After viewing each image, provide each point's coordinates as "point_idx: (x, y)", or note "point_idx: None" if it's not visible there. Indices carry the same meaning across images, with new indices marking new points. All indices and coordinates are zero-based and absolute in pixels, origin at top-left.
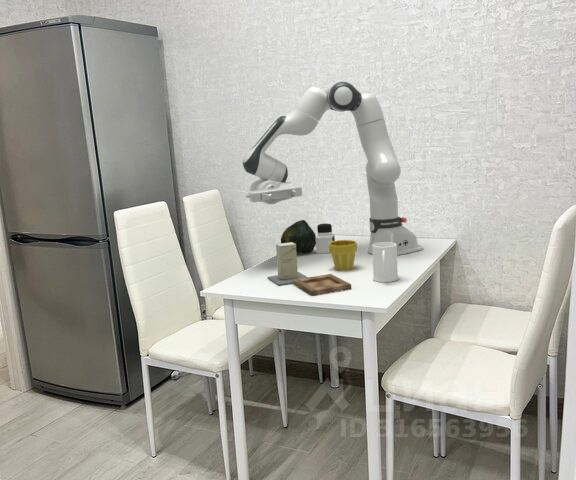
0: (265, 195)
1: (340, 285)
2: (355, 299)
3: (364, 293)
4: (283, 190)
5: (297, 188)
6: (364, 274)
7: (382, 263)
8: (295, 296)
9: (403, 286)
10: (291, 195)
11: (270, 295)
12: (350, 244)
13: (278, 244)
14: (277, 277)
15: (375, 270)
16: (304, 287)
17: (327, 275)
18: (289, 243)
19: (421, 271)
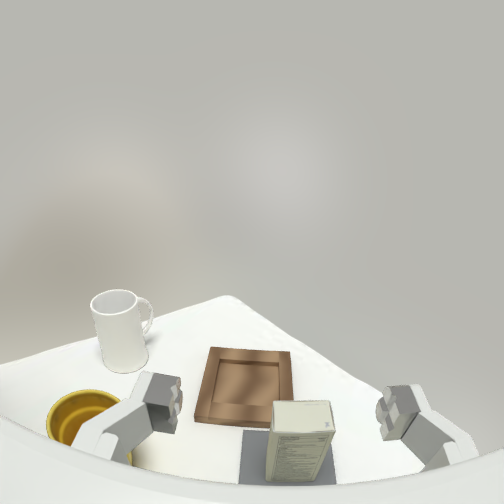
0: (436, 420)
1: (229, 350)
2: (237, 322)
3: (209, 331)
4: (208, 482)
5: (31, 432)
6: (122, 398)
7: (152, 309)
8: (314, 368)
9: (143, 324)
10: (176, 419)
11: (356, 389)
12: (54, 431)
13: (328, 422)
14: (314, 484)
15: (143, 343)
16: (291, 374)
17: (208, 409)
18: (289, 417)
19: (55, 349)
